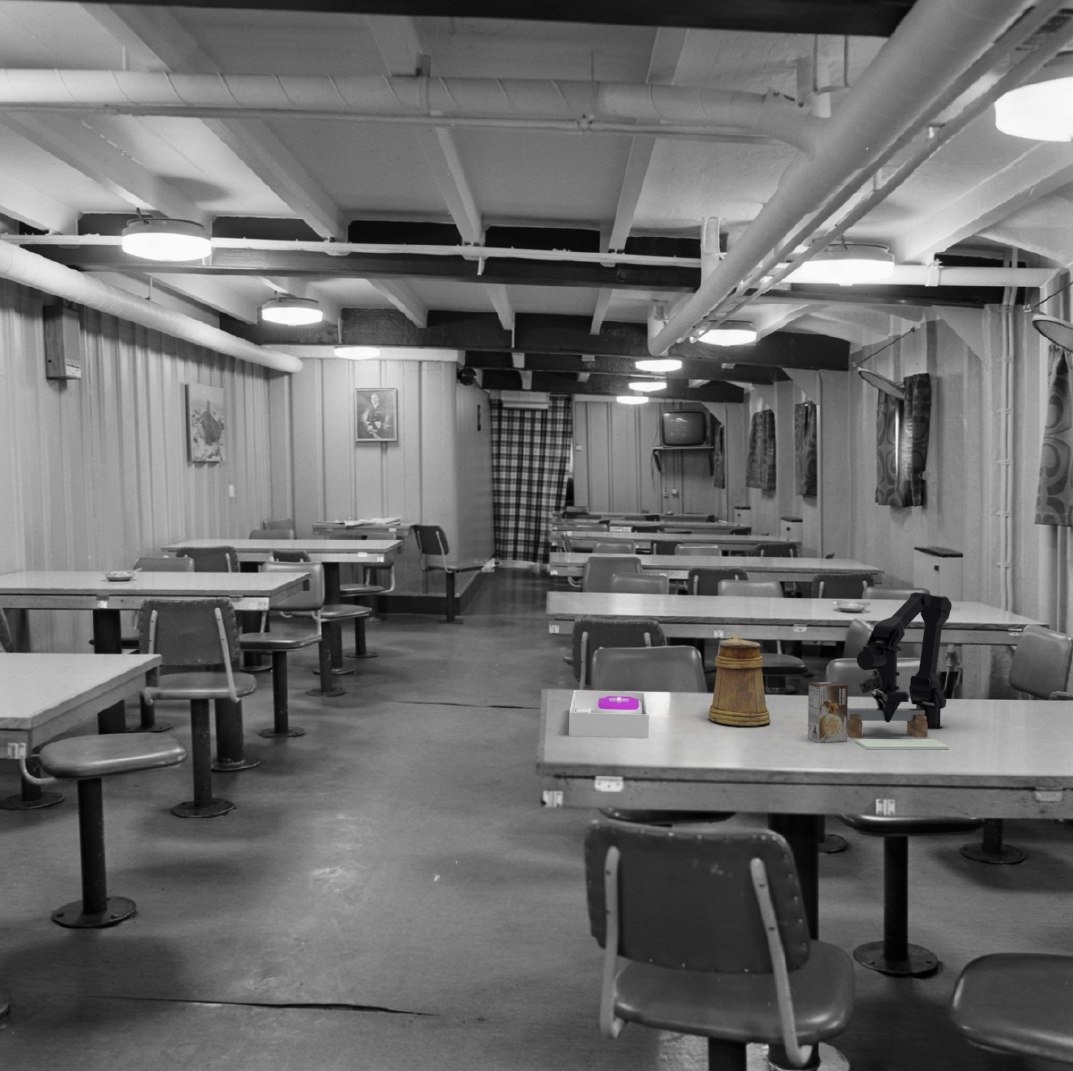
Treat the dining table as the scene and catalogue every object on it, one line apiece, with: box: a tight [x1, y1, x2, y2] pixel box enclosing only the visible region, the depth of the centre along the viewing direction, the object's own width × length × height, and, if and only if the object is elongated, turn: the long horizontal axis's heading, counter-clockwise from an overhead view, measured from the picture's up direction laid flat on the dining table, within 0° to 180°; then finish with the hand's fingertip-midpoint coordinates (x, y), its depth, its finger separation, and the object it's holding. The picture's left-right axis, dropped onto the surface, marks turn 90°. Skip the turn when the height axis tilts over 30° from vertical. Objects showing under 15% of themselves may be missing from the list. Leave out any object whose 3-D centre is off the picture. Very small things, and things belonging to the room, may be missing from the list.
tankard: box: [708, 634, 771, 726], centre depth 321 cm, size 18×24×25 cm
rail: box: [847, 707, 925, 722], centre depth 302 cm, size 22×3×3 cm, turn 93°
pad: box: [854, 738, 950, 751], centre depth 290 cm, size 23×9×1 cm, turn 93°
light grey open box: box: [568, 689, 650, 739], centre depth 313 cm, size 22×35×7 cm, turn 176°
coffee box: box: [807, 681, 849, 744], centre depth 295 cm, size 9×6×16 cm
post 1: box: [847, 716, 863, 739], centre depth 302 cm, size 3×7×6 cm, turn 3°
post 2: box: [906, 716, 928, 739], centre depth 303 cm, size 3×7×6 cm, turn 3°
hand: (885, 720), depth 303 cm, fingers closed on rail, 3 cm apart
